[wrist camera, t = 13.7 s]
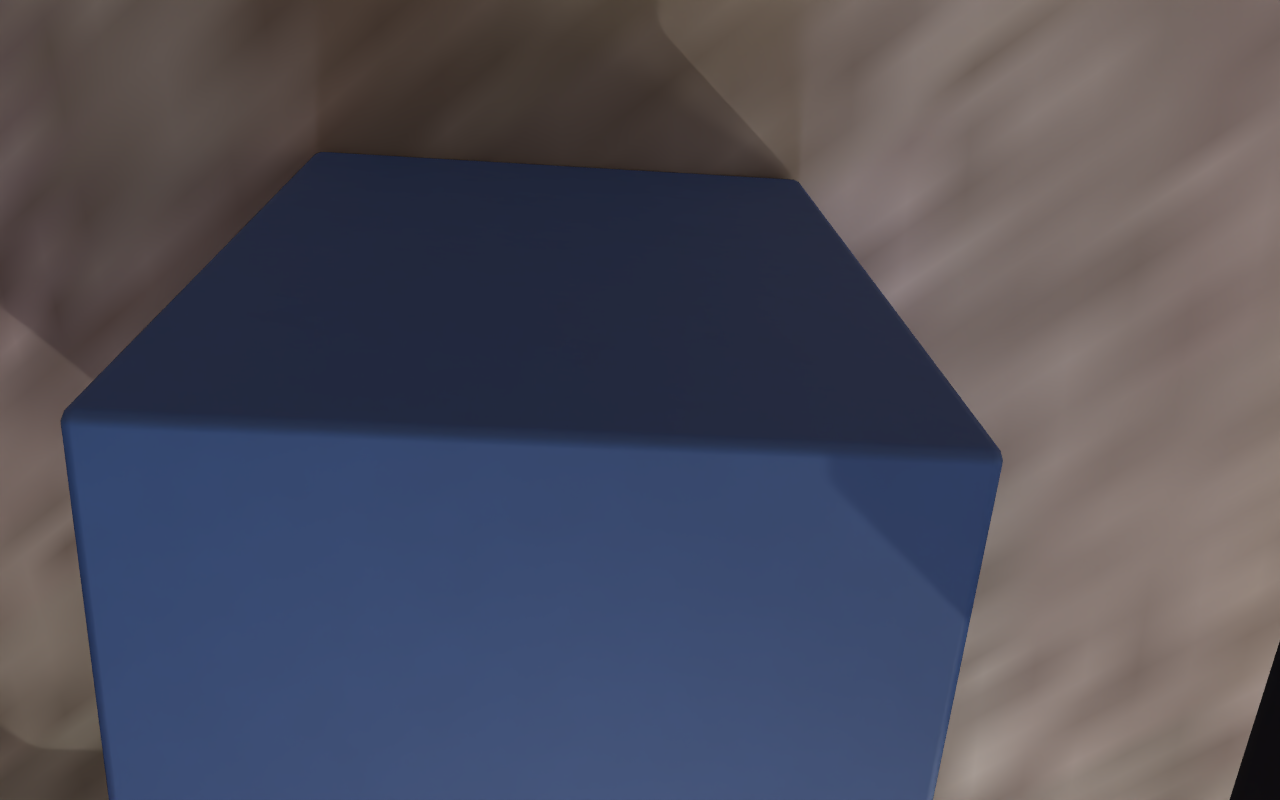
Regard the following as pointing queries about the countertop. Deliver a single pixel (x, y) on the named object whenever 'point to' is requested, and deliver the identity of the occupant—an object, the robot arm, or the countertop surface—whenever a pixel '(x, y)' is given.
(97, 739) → the countertop surface
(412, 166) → the blue block
